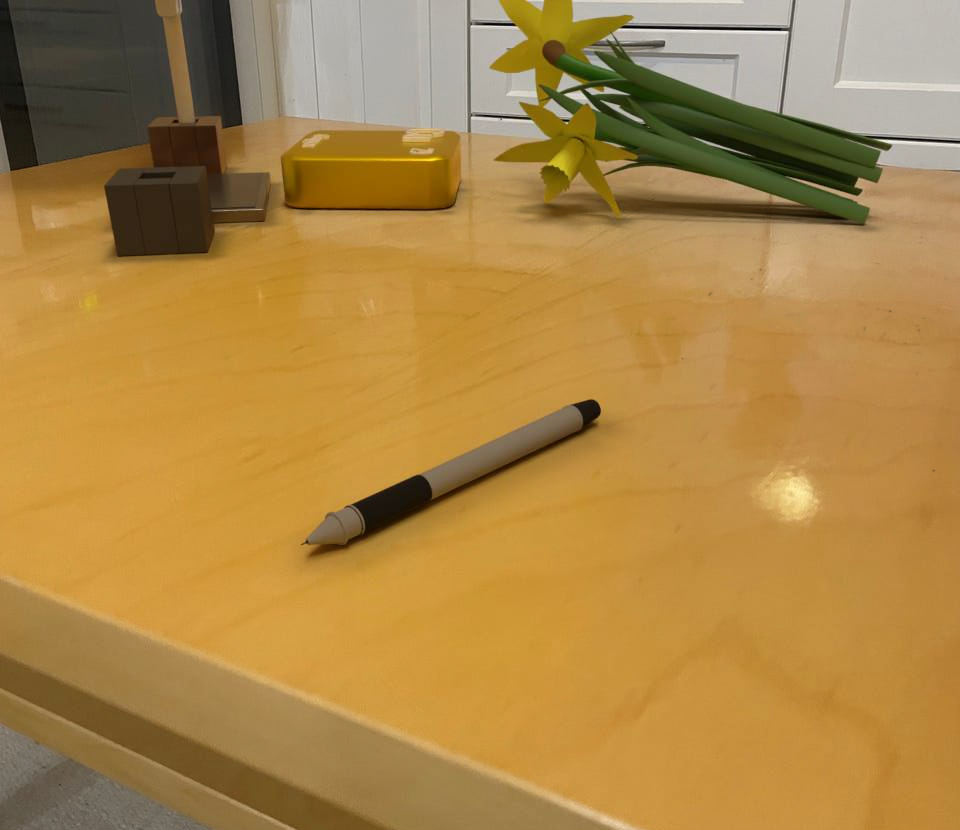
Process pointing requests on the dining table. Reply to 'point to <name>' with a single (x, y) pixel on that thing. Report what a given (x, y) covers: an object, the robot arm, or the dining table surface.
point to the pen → (451, 474)
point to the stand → (188, 143)
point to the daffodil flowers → (668, 122)
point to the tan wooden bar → (179, 68)
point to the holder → (160, 210)
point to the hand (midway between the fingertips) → (170, 16)
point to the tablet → (239, 196)
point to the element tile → (373, 169)
